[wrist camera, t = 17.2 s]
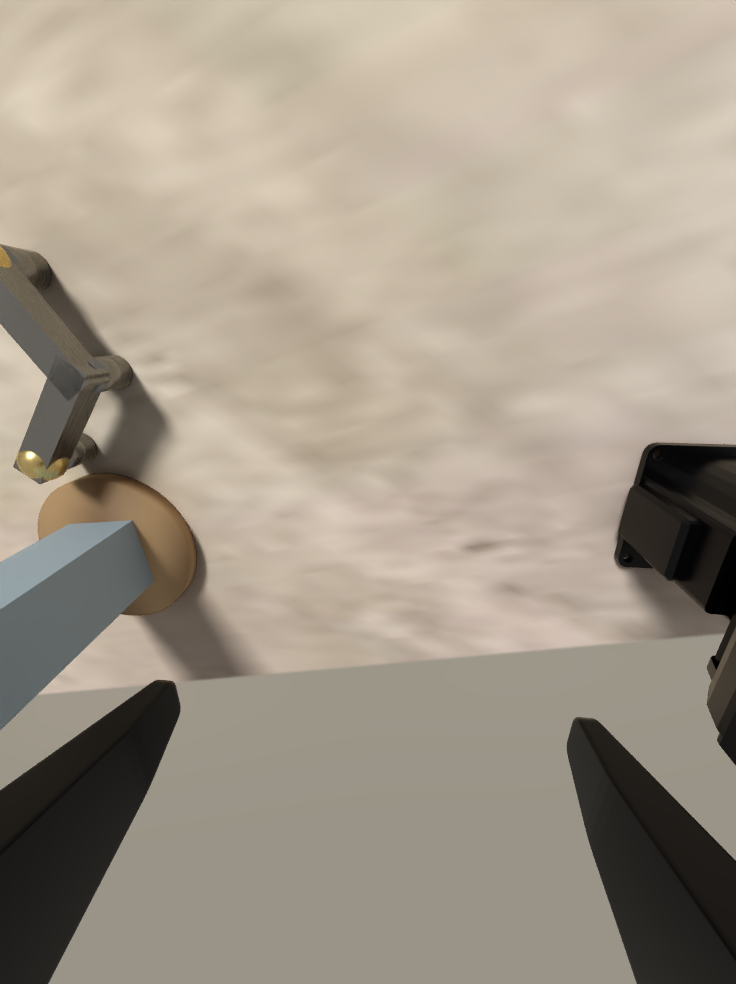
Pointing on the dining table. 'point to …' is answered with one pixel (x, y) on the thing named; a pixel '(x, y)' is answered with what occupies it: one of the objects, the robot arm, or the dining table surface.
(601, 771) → the robot arm
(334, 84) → the dining table surface
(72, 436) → the grey hinged linkage
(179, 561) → the walnut coaster
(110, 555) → the slate block
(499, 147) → the dining table surface
